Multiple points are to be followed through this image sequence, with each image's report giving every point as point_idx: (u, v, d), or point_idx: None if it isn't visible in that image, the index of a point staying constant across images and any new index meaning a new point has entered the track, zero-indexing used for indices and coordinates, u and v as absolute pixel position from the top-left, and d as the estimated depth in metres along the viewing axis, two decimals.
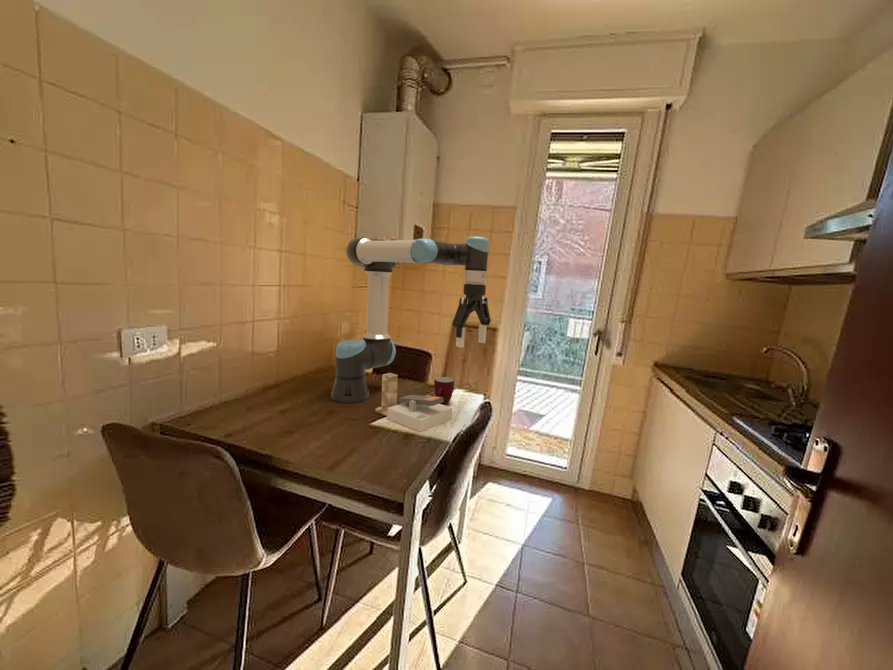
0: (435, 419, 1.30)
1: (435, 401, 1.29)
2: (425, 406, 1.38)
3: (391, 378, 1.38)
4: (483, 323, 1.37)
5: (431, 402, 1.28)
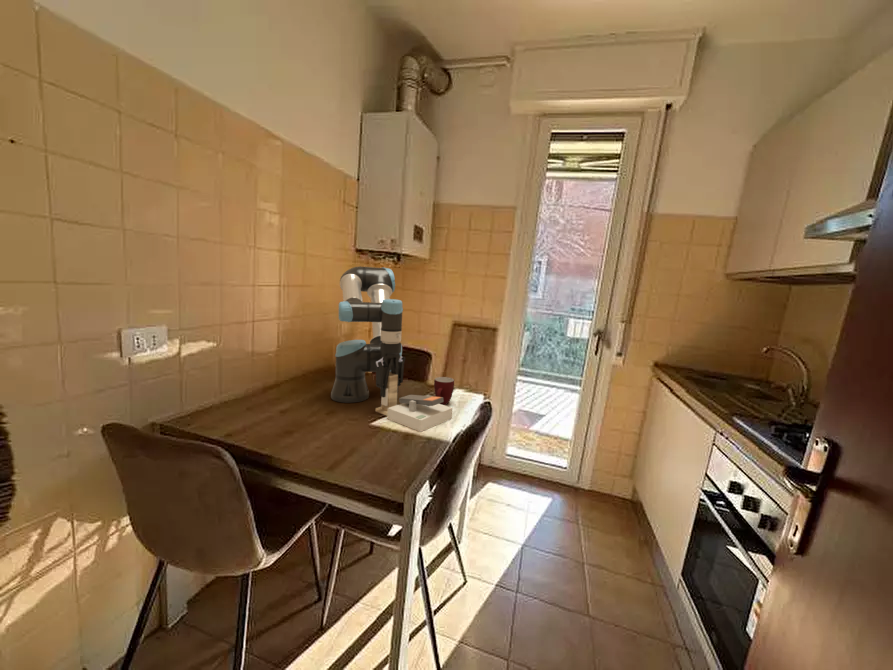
0: (435, 419, 1.30)
1: (435, 401, 1.29)
2: (425, 406, 1.38)
3: (391, 378, 1.38)
4: None
5: (431, 402, 1.28)
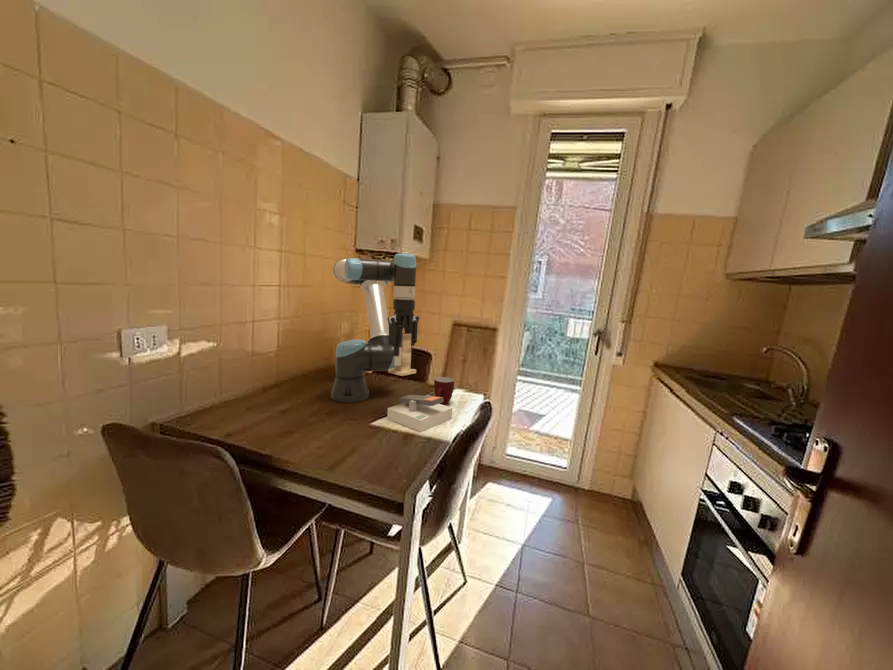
0: (435, 419, 1.30)
1: (435, 401, 1.29)
2: (425, 406, 1.38)
3: (404, 336, 1.32)
4: None
5: (431, 402, 1.28)
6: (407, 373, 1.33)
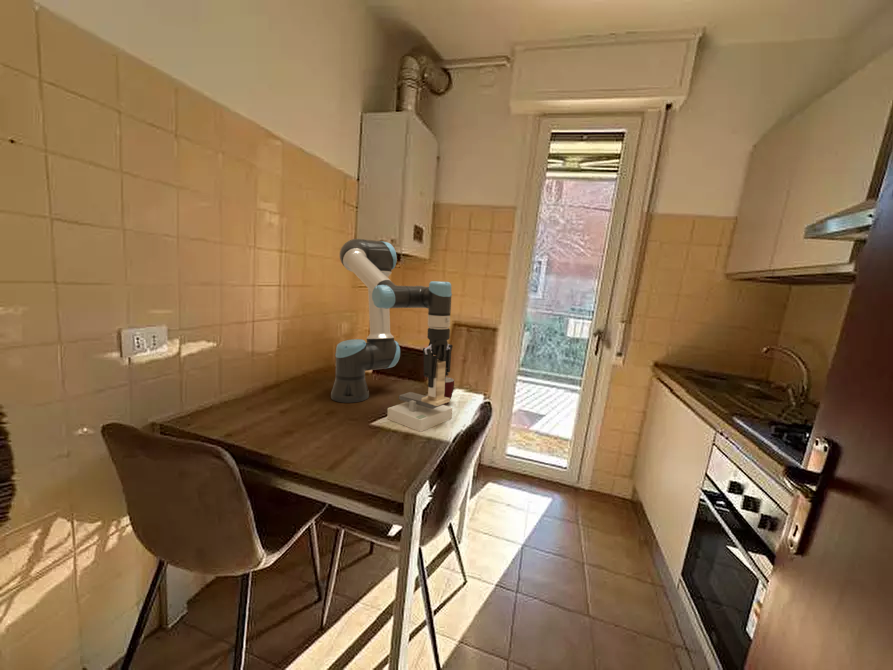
0: (435, 419, 1.30)
1: None
2: None
3: (439, 364, 1.27)
4: None
5: (431, 405, 1.28)
6: (441, 402, 1.28)
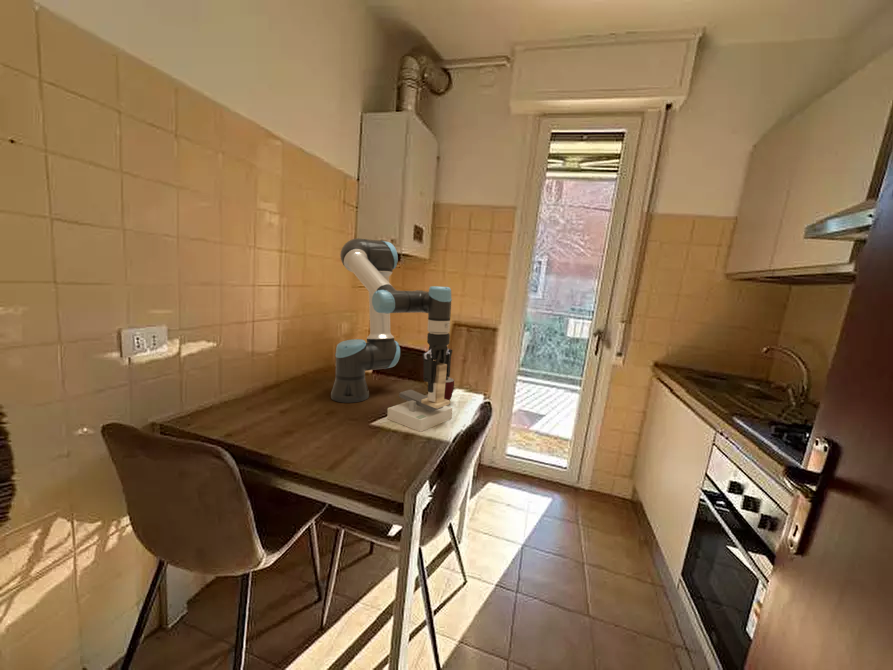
0: (435, 419, 1.30)
1: None
2: None
3: (441, 367, 1.26)
4: None
5: (431, 408, 1.28)
6: (441, 405, 1.28)
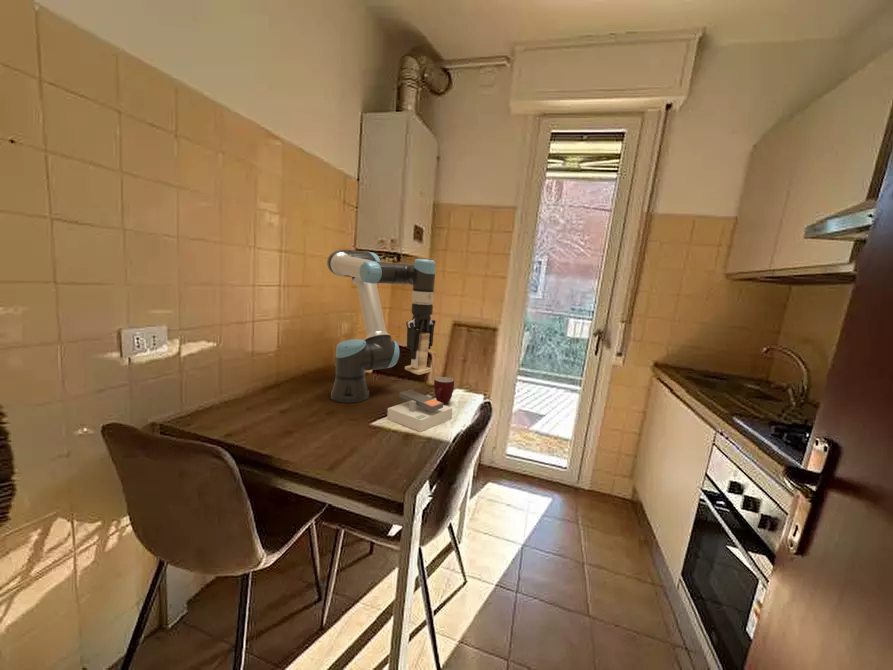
0: (435, 419, 1.30)
1: (435, 407, 1.29)
2: None
3: (423, 336, 1.34)
4: None
5: (431, 408, 1.28)
6: (423, 371, 1.36)
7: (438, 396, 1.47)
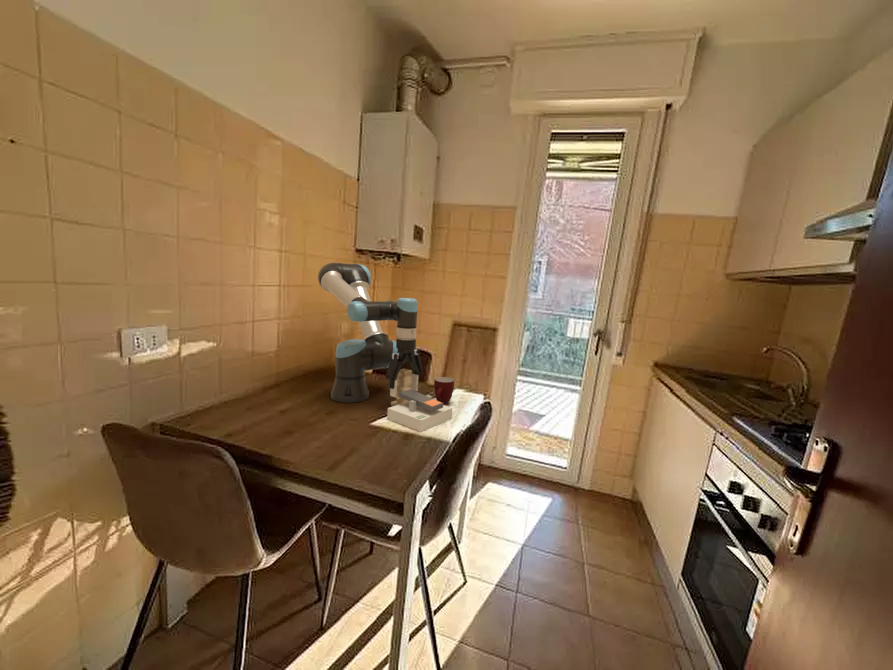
0: (435, 419, 1.30)
1: (435, 407, 1.29)
2: None
3: (406, 373, 1.45)
4: (415, 373, 1.53)
5: (431, 408, 1.28)
6: None
7: (438, 396, 1.47)
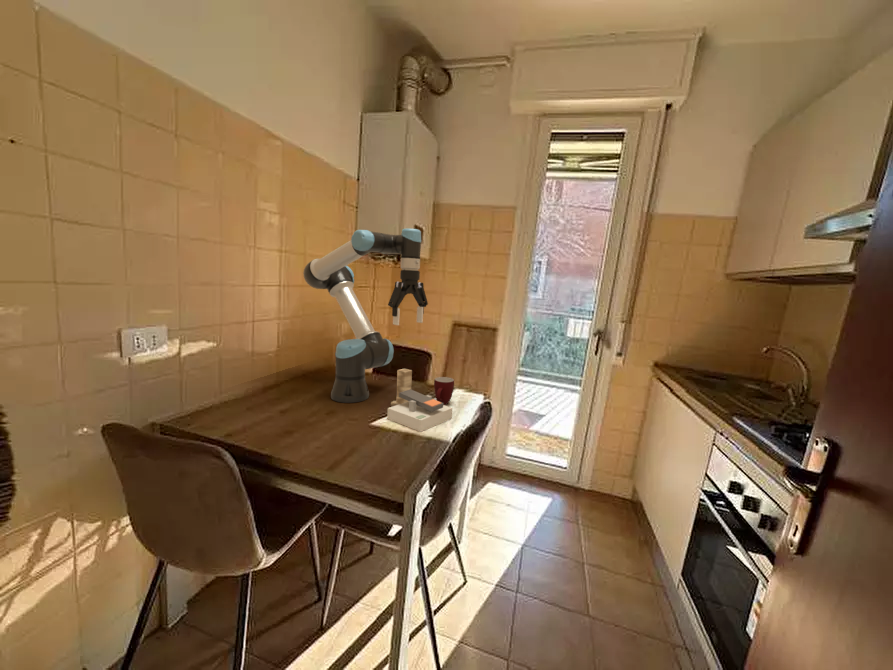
0: (435, 419, 1.30)
1: (435, 407, 1.29)
2: None
3: (406, 373, 1.45)
4: (420, 305, 1.55)
5: (431, 408, 1.28)
6: None
7: (438, 396, 1.47)
